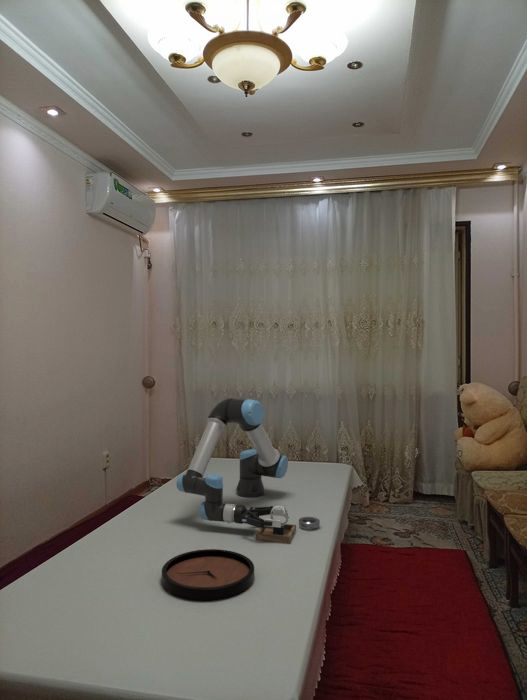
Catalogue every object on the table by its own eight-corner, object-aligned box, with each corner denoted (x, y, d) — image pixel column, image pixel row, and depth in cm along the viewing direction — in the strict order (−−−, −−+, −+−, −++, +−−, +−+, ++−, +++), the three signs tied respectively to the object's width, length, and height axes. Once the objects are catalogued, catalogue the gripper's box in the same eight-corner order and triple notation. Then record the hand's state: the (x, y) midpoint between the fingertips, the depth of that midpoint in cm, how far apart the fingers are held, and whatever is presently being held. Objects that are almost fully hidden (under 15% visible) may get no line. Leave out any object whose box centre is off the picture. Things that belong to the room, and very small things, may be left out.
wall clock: (267, 556, 185) (232, 596, 156) (267, 567, 185) (232, 610, 156) (189, 544, 196) (143, 579, 166) (189, 554, 196) (143, 592, 166)
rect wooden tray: (264, 528, 223) (264, 521, 223) (296, 531, 220) (296, 524, 220) (255, 540, 210) (255, 533, 210) (289, 543, 206) (289, 536, 206)
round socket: (303, 522, 231) (303, 515, 231) (322, 525, 227) (322, 518, 227) (295, 528, 223) (295, 521, 223) (315, 532, 219) (315, 525, 219)
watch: (288, 535, 214) (289, 509, 213) (268, 534, 214) (270, 507, 214) (288, 530, 219) (289, 505, 219) (269, 529, 220) (271, 503, 219)
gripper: (243, 513, 231) (290, 517, 226) (226, 532, 207) (277, 538, 202) (243, 496, 231) (290, 500, 226) (226, 514, 207) (277, 519, 202)
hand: (284, 518), depth 214 cm, fingers open, 13 cm apart
